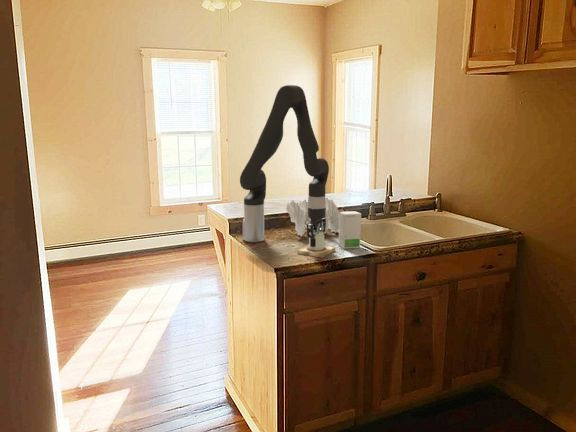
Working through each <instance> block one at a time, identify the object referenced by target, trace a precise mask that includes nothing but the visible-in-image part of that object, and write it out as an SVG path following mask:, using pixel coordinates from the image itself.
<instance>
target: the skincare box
mask: <svg viewBox="0 0 576 432" xmlns="http://www.w3.org/2000/svg"><path fill="white" fill-rule="evenodd" d="M361 226H362V213H361V212H358V211H350V210H349V211H339V229H338V240H337V241H338V243H337V245H338V247H340V248H341V249H344V250H346V249H358V248H359V249H360V248H361V231H362V230H361V229H362V227H361Z"/></svg>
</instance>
